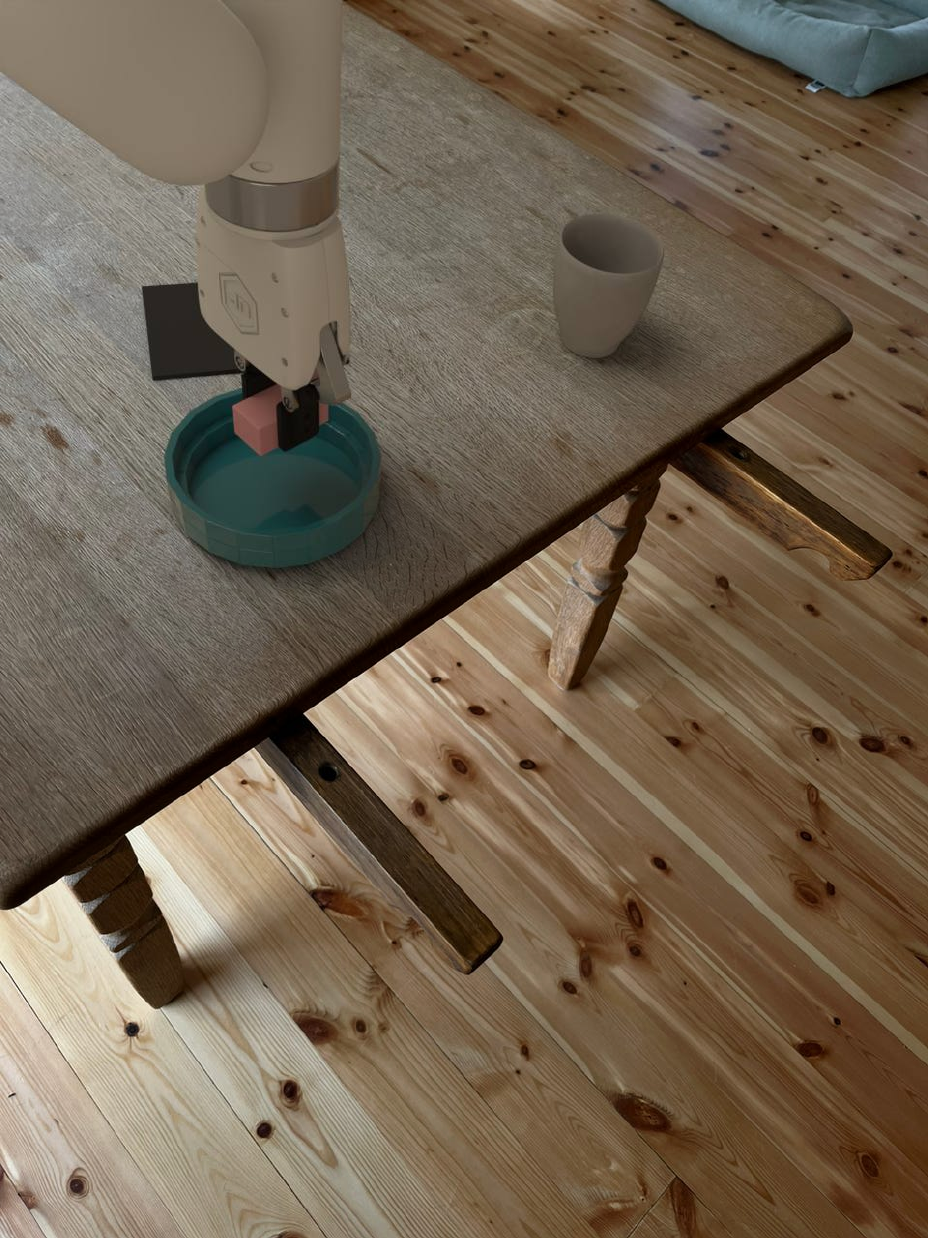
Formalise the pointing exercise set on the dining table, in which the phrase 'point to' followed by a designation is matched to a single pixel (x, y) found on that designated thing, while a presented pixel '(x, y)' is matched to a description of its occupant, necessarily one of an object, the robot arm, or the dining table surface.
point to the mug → (603, 280)
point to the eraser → (263, 419)
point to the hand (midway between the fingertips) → (281, 424)
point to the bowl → (272, 487)
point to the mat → (183, 335)
